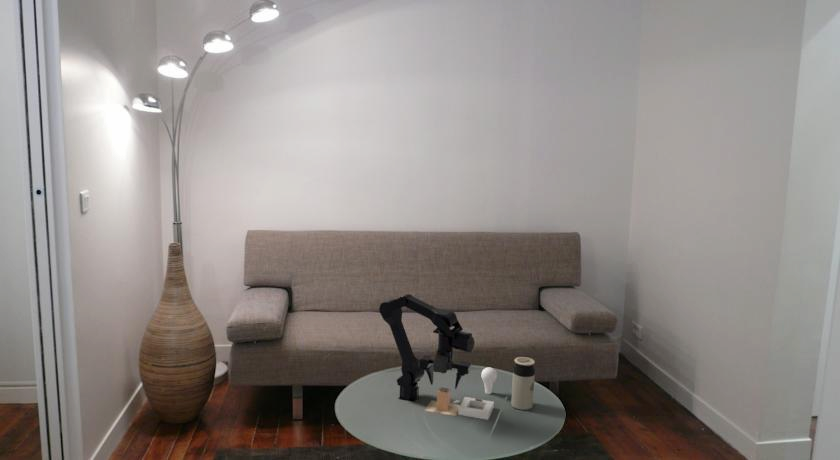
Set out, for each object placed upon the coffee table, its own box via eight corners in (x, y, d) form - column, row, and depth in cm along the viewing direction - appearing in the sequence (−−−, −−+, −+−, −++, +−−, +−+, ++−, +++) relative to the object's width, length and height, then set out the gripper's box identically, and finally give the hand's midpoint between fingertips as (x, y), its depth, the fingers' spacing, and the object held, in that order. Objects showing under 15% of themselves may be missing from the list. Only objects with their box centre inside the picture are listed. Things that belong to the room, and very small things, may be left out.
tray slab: (424, 411, 220) (424, 410, 220) (431, 401, 229) (431, 400, 229) (455, 417, 217) (455, 416, 216) (461, 406, 225) (461, 405, 225)
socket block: (458, 416, 218) (458, 406, 217) (464, 404, 227) (465, 395, 227) (488, 421, 215) (488, 411, 214) (493, 409, 224) (493, 400, 223)
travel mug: (507, 405, 227) (509, 360, 225) (518, 399, 233) (521, 355, 230) (524, 412, 222) (527, 366, 219) (536, 405, 228) (539, 360, 225)
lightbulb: (495, 398, 233) (496, 371, 231) (479, 396, 234) (480, 370, 232) (496, 392, 239) (497, 365, 237) (481, 390, 240) (482, 364, 238)
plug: (436, 409, 221) (437, 390, 220) (439, 404, 225) (440, 386, 224) (447, 411, 220) (447, 392, 219) (449, 406, 224) (450, 387, 223)
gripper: (414, 349, 214) (412, 391, 216) (465, 357, 208) (463, 399, 211) (423, 339, 224) (422, 379, 227) (472, 346, 219) (470, 387, 221)
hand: (443, 386), depth 221 cm, fingers open, 9 cm apart
